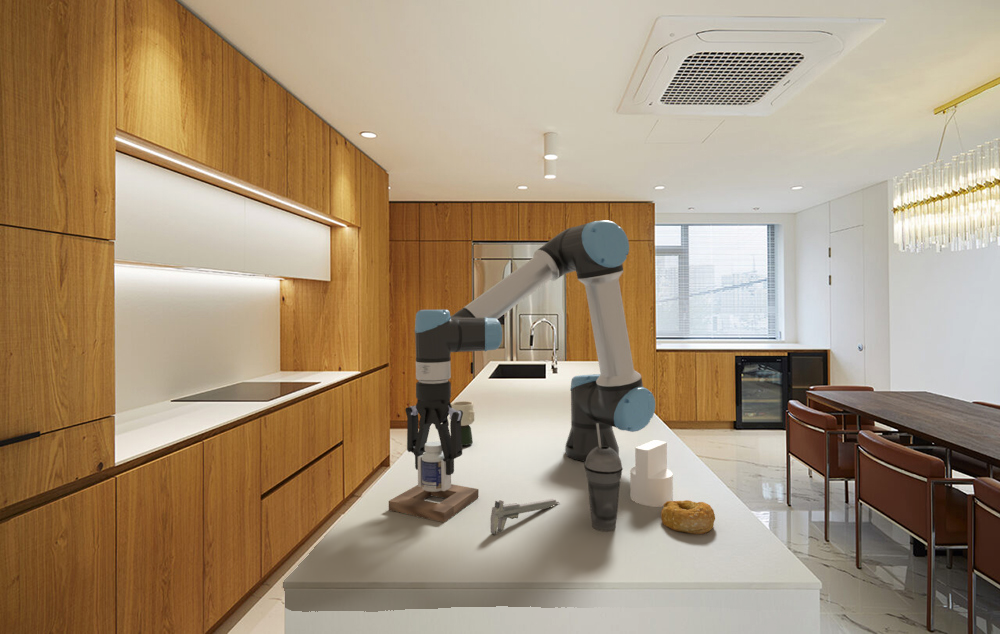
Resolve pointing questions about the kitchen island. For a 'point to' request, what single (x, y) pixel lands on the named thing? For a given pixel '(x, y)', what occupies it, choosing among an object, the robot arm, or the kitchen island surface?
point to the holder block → (443, 511)
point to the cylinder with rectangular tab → (651, 475)
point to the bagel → (688, 516)
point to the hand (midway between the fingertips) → (434, 486)
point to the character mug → (465, 419)
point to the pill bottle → (432, 466)
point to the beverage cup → (603, 485)
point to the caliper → (514, 512)
